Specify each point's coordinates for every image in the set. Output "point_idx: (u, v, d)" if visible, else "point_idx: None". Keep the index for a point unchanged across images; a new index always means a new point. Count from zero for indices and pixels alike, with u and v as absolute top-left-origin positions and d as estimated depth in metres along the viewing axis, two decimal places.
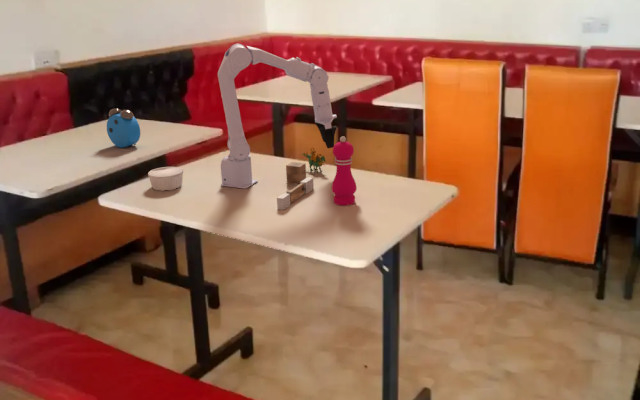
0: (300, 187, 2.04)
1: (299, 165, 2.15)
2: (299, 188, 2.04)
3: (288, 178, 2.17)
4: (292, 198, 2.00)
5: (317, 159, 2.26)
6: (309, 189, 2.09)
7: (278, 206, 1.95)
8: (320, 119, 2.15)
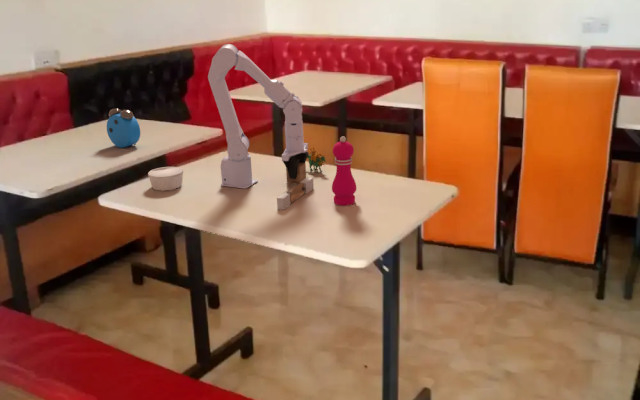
0: (300, 187, 2.04)
1: (299, 165, 2.15)
2: (299, 188, 2.04)
3: (288, 178, 2.17)
4: (292, 198, 2.00)
5: (317, 159, 2.26)
6: (309, 189, 2.09)
7: (278, 206, 1.95)
8: (287, 149, 2.13)
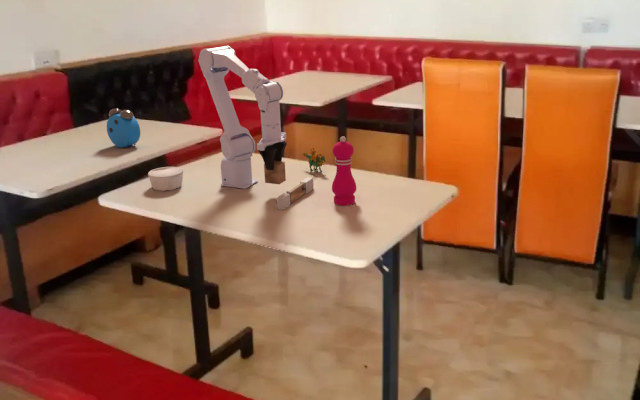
0: (300, 187, 2.04)
1: (278, 163, 2.02)
2: (299, 188, 2.04)
3: (266, 177, 2.04)
4: (292, 198, 2.00)
5: (317, 159, 2.26)
6: (309, 189, 2.09)
7: (278, 206, 1.95)
8: (263, 138, 2.00)
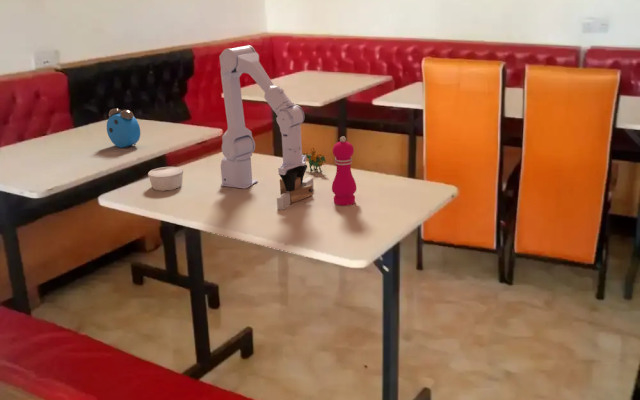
0: (306, 188, 2.03)
1: None
2: (304, 189, 2.03)
3: (281, 193, 2.04)
4: (293, 198, 2.00)
5: (317, 159, 2.26)
6: None
7: (278, 206, 1.95)
8: (284, 162, 1.99)
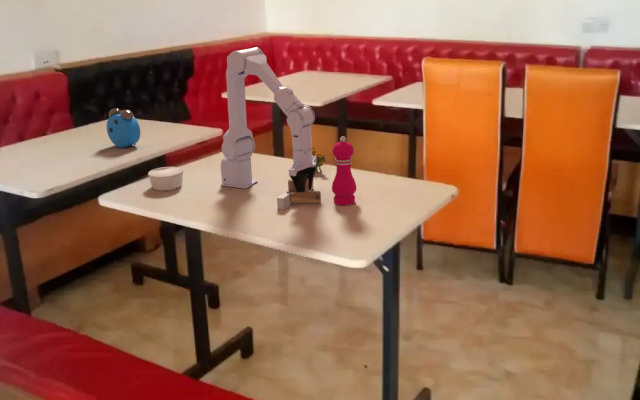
0: (312, 194, 1.98)
1: None
2: (310, 194, 1.98)
3: (290, 194, 2.02)
4: (294, 200, 1.99)
5: (317, 159, 2.26)
6: None
7: (278, 206, 1.95)
8: (294, 163, 1.98)
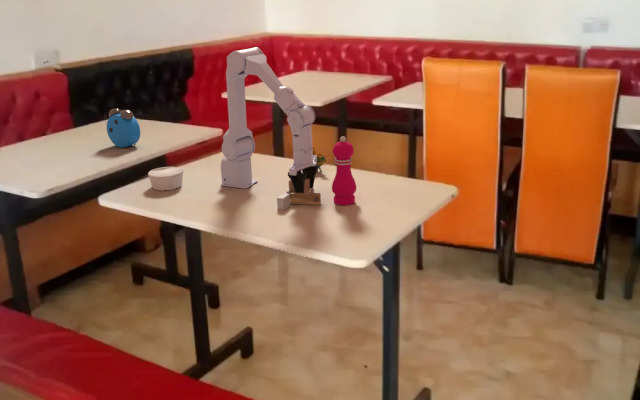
0: (311, 195, 1.97)
1: None
2: (309, 196, 1.97)
3: None
4: (293, 200, 1.99)
5: (317, 159, 2.26)
6: None
7: (278, 206, 1.95)
8: (294, 163, 1.98)
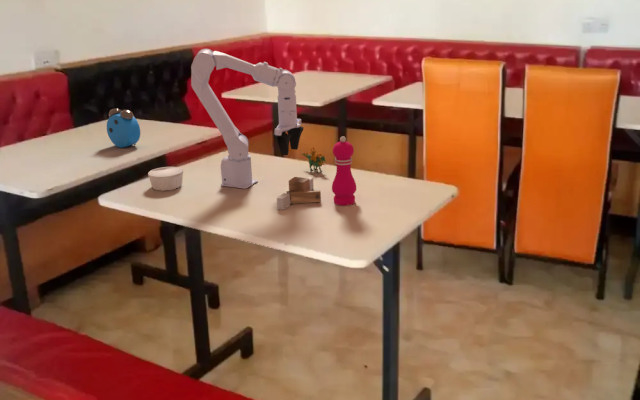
0: (312, 193, 1.99)
1: (303, 180, 2.01)
2: (310, 194, 1.99)
3: (290, 194, 2.02)
4: (294, 200, 1.99)
5: (317, 159, 2.26)
6: None
7: (278, 206, 1.95)
8: (280, 124, 2.11)
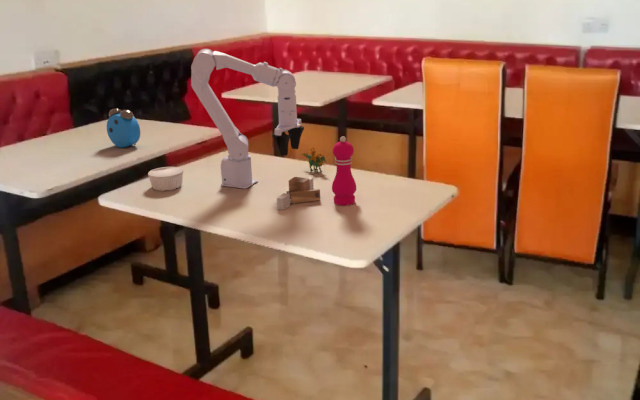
0: (312, 192, 2.00)
1: (303, 180, 2.01)
2: (309, 193, 2.00)
3: None
4: (294, 200, 1.99)
5: (317, 159, 2.26)
6: None
7: (278, 206, 1.95)
8: (280, 124, 2.11)
